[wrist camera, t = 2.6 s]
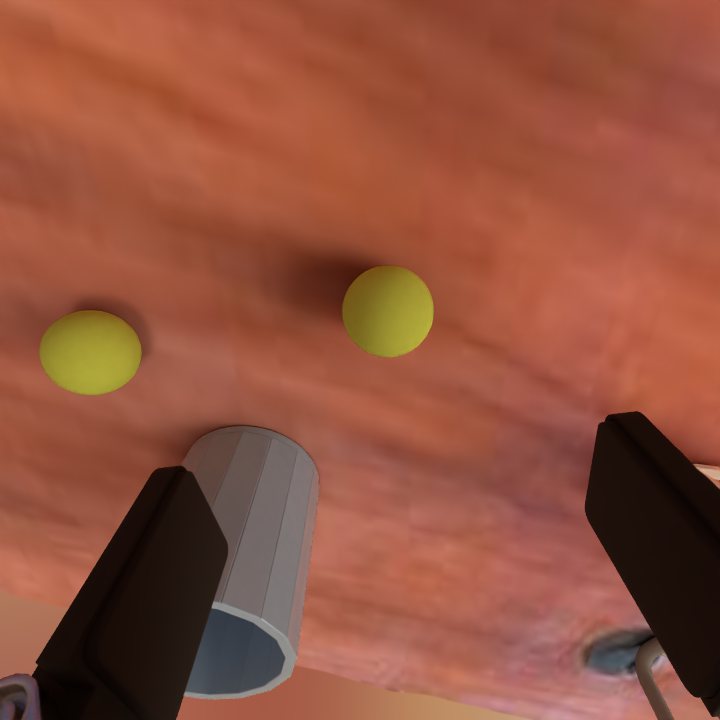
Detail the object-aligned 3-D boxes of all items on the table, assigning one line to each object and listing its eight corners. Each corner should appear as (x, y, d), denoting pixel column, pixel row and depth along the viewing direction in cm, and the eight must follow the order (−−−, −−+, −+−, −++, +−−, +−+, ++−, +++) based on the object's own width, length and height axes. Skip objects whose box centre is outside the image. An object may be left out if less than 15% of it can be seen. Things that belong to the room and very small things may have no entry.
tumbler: (162, 433, 24) (47, 605, 15) (302, 417, 23) (263, 589, 15) (211, 527, 28) (142, 703, 20) (331, 516, 28) (313, 694, 19)
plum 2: (337, 260, 19) (330, 291, 15) (424, 248, 18) (437, 276, 15) (352, 337, 21) (348, 379, 17) (430, 326, 20) (443, 368, 17)
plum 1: (60, 303, 20) (-4, 340, 17) (135, 291, 20) (86, 327, 16) (99, 371, 22) (48, 417, 18) (168, 362, 22) (130, 406, 18)
